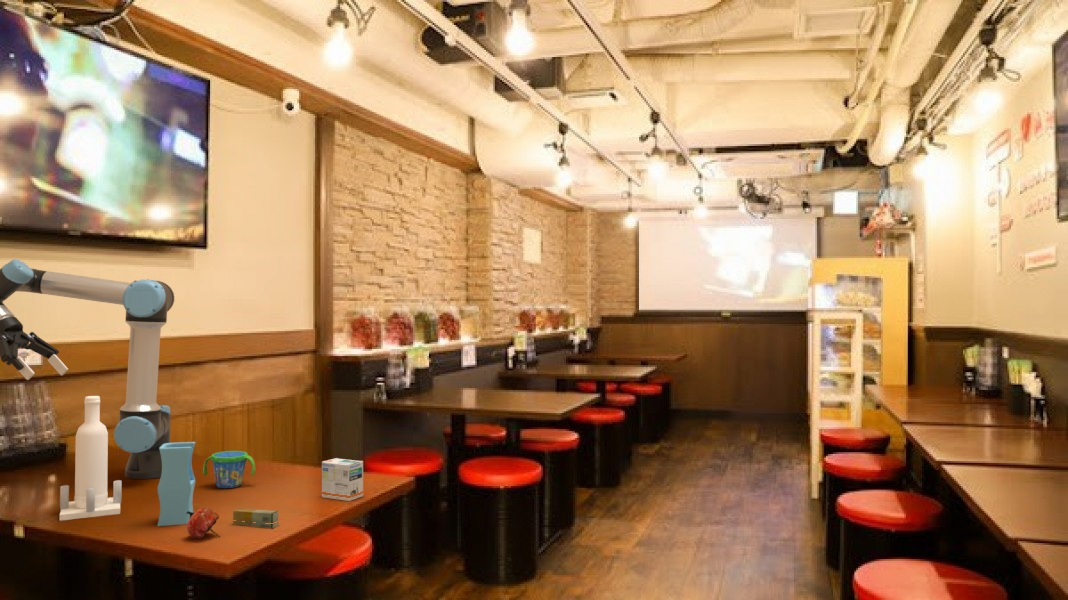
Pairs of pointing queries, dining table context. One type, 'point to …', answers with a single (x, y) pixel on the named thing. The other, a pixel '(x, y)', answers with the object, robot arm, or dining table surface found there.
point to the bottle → (91, 456)
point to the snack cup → (229, 468)
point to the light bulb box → (342, 478)
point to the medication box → (255, 518)
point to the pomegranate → (201, 522)
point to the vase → (176, 483)
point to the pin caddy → (90, 503)
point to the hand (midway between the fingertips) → (48, 374)
